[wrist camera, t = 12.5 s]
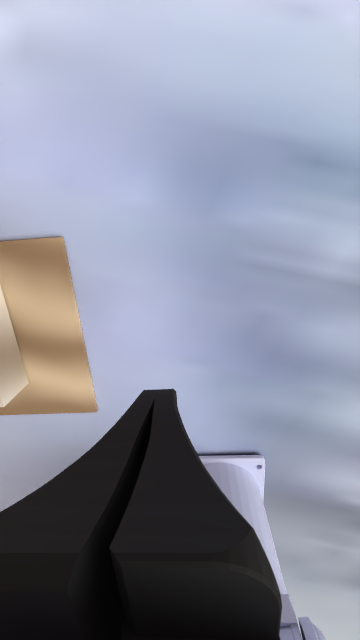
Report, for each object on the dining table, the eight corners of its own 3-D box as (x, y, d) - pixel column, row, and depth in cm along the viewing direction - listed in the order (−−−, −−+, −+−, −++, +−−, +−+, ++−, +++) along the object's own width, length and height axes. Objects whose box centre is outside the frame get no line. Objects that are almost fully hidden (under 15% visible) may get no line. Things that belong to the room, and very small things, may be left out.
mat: (97, 409, 23) (96, 412, 22) (-38, 414, 23) (-40, 416, 23) (63, 236, 18) (61, 237, 18) (-104, 248, 19) (-108, 248, 18)
